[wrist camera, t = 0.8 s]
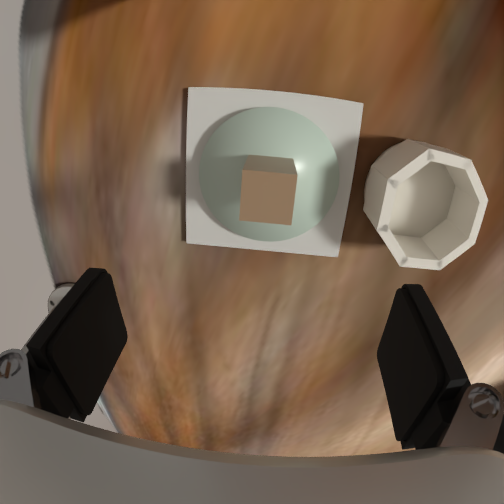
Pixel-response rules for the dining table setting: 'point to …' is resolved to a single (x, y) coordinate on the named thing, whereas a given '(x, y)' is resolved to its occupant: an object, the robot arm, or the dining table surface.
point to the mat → (310, 106)
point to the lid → (269, 174)
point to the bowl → (424, 203)
